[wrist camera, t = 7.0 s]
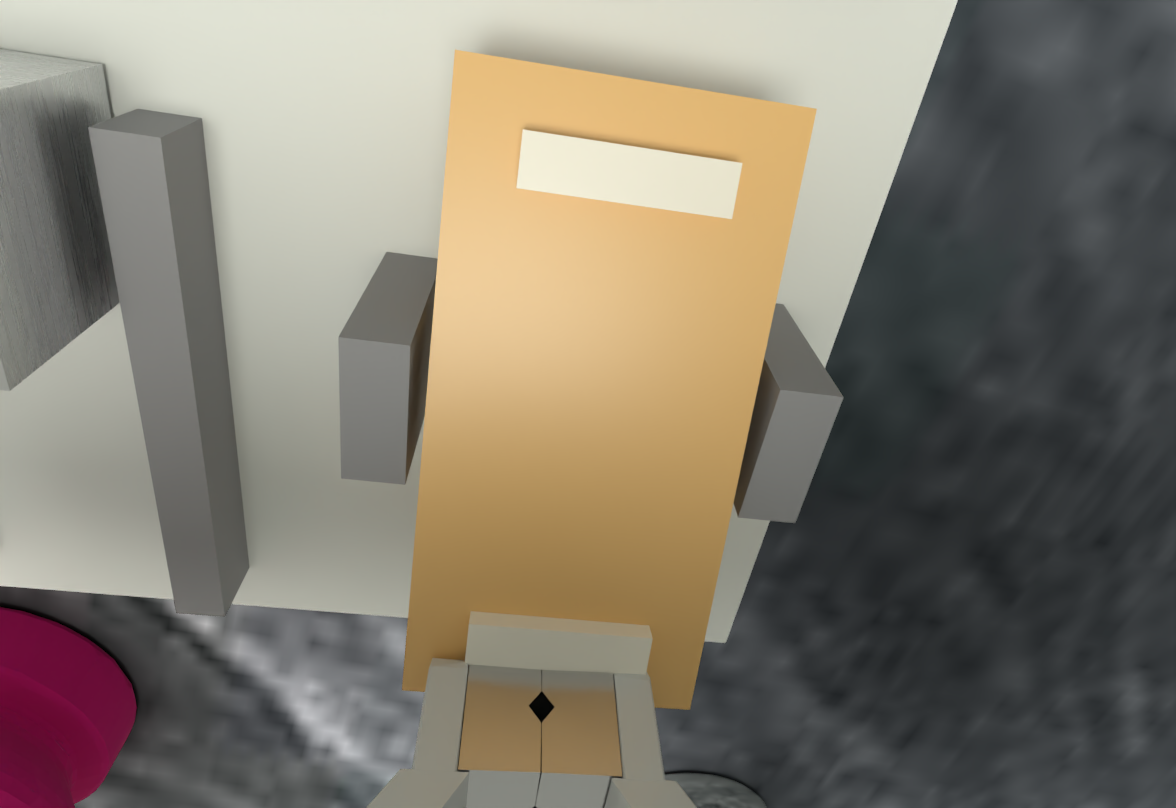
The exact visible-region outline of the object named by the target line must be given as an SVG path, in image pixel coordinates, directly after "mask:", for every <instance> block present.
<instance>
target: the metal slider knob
mask: <svg viewBox="0 0 1176 808" xmlns="http://www.w3.org/2000/svg"><path fill="white" fill-rule="evenodd" d="M109 119H111V114H110V108H109V102H108V96H107V90H106V84H105V78H104V72H103V66H102V64H97V63H90V62H84V61H77V60H71V59H64V58H58V57H51V56H45V55H38V54H32V53H25V52H19V51H12V50H6V49H0V390H4V391H11V390H12V389H13V388H14V387H16V386H17V385H18V384H19V383H21V382H22V381H23V380H24V379H26V378H27V377H28V376H29V375H30V374H32V373H33V372H34V371H35V370H37V369H38V368H39V367H40V366H42V365H43V364H44V363H45V362H47V361H48V360H49V359H50V358H52V357H53V356H54V355H55V354H57V353H58V352H59V351H60V350H62V349H63V348H64V347H65V346H67V345H68V344H69V343H70V342H71V341H73V340H74V339H75V338H76V337H78V336H79V335H80V334H81V333H83V332H84V331H85V330H86V329H88V328H89V327H90V326H91V325H93V324H94V323H95V322H96V321H98V320H99V319H100V318H101V317H103V316H104V315H105V314H106V313H108V312H109V311H110V310H111V309H112V308H114V307H115V306H116V305H117V304H119V303H120V301H119V295H118V290H117V284H116V279H115V273H114V268H113V262H112V256H111V251H110V245H109V240H108V234H107V229H106V223H105V218H104V212H103V207H102V201H101V196H100V190H99V185H98V179H97V174H96V168H95V163H94V157H93V152H92V146H91V141H90V135H89V130H88V127H90V126H93V125H95V124H98V123H101V122H103V121H106V120H109Z"/></svg>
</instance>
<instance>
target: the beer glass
mask: <svg viewBox="0 0 1176 808" xmlns="http://www.w3.org/2000/svg"><path fill="white" fill-rule="evenodd" d="M665 780H670V781H677V783H678V784H679V785H680V786H681V788H682V789H683V790H684V791H685V793H686V794H687V795H688V797H689V798H690V799H691V800H692V802H693V803H694V804H695V805H696V807H697V808H767V807H766V805H765V803H764V802H763V800H762V799H761V798H760V797H759V796H758V795H757V794H756V793H755V792H753V791H752V790H751V789H749V788H748V787H746V786H744V785H742V784H740V783H738V782H736V781H734V780H731V779H728V778H725V777H721V776H716V775H711V774H703V773H672V774H665Z"/></svg>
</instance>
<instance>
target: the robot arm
mask: <svg viewBox="0 0 1176 808" xmlns="http://www.w3.org/2000/svg"><path fill="white" fill-rule="evenodd" d="M468 667H469V672H468ZM467 679H468V681H467ZM366 808H697V807H696V805H695V804H694V803H693V802H692V800H691V799H690V798H689V797H688V795H687V794H686V793H685V791H684V790H683V789H682V788H681V786H680V785H679V784H678V783H677V781H670V780H665V774H664V767H663V760H662V754H661V747H660V740H659V733H658V727H657V720H656V713H655V706H654V700H653V693H652V686H651V680H650V677H649V675H648V673H647V671H646V675H644V674H620V673H604V672H582V671H556V670H537V669H523V668H510V667H497V666H484V665H468V664H467V663H465V660H455V659H442V658H432V661H431V664H430V667H429V671H428V676H427V682H426V688H425V694H424V700H423V706H422V712H421V718H420V724H419V730H418V736H417V742H416V748H415V754H414V760H413V765H412V769H400V770H399V771H398V772H397V773H396V775H395V776H394V777H393V778H392V779H391V780H390V781H389V783H388V784H387V785H386V786H385V787H384V788H383V789H382V790H381V792H380V793H379V794H378V795H377V796H376V797H375V798H374V800H373V801H372V802H371V803H370V804H369V805H368V806H367V807H366Z"/></svg>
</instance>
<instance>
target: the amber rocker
mask: <svg viewBox="0 0 1176 808" xmlns="http://www.w3.org/2000/svg"><path fill="white" fill-rule="evenodd" d="M816 111H817V109H815V108H809V107H803V106H797V105H791V104H785V103H779V102H773V101H767V100H760V99H754V98H748V97H742V96H736V95H730V94H724V93H718V92H712V91H705V90H699V89H693V88H687V87H681V86H675V85H669V84H663V83H657V82H650V81H644V80H638V79H632V78H626V77H620V76H614V75H608V74H602V73H595V72H589V71H583V70H577V69H571V68H565V67H559V66H553V65H547V64H540V63H534V62H528V61H522V60H516V59H510V58H504V57H498V56H492V55H485V54H479V53H473V52H467V51H461V50H455V54H454V66H453V78H452V91H451V103H450V115H449V127H448V139H447V151H446V163H445V175H444V188H443V200H442V212H441V224H440V236H439V248H438V260H437V272H436V285H435V297H434V309H433V321H432V333H431V345H430V357H429V369H428V382H427V394H426V406H425V418H424V430H423V442H422V454H421V466H420V479H419V491H418V503H417V515H416V527H415V539H414V551H413V563H412V576H411V588H410V600H409V612H408V624H407V636H406V648H405V661H404V673H403V685H402V690H406V691H420V692H425V688H426V682H427V676H428V671H429V667H430V664H431V661H432V658H442V659H455V660H465V663H467V664H468V665H484V666H497V667H510V668H523V669H537V670H556V671H582V672H604V673H620V674H644V675H646V671H647V673H648V675H649V677H650V680H651V686H652V693H653V700H654V706H655V708H670V709H684V710H690V706H691V701H692V697H693V692H694V687H695V683H696V678H697V673H698V668H699V664H700V659H701V654H702V649H703V645H704V640H705V635H706V631H707V626H708V621H709V616H710V612H711V607H712V602H713V598H714V593H715V588H716V583H717V579H718V574H719V569H720V564H721V560H722V555H723V550H724V546H725V541H726V536H727V531H728V527H729V522H730V517H731V512H732V508H733V503H734V498H735V494H736V489H737V484H738V479H739V475H740V470H741V465H742V460H743V456H744V451H745V446H746V442H747V437H748V432H749V427H750V423H751V418H752V413H753V408H754V404H755V399H756V394H757V390H758V385H759V380H760V375H761V371H762V366H763V361H764V357H765V352H766V347H767V342H768V338H769V333H770V328H771V323H772V319H773V314H774V309H775V305H776V300H777V295H778V290H779V286H780V281H781V276H782V271H783V267H784V262H785V257H786V253H787V248H788V243H789V238H790V234H791V229H792V224H793V219H794V215H795V210H796V205H797V201H798V196H799V191H800V186H801V182H802V177H803V172H804V168H805V163H806V158H807V153H808V149H809V144H810V139H811V134H812V130H813V125H814V120H815V116H816ZM468 672H469V667H468ZM467 681H468V679H467Z"/></svg>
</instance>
